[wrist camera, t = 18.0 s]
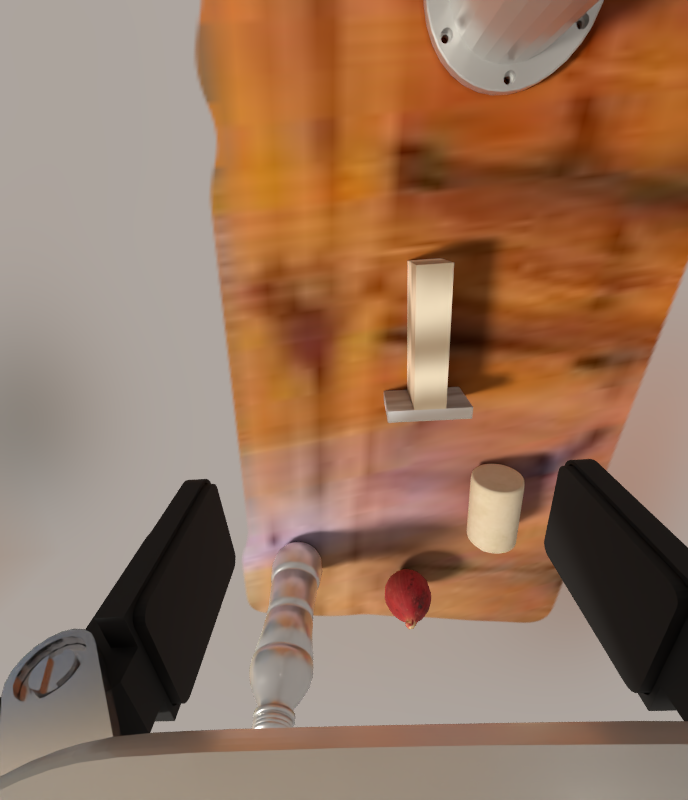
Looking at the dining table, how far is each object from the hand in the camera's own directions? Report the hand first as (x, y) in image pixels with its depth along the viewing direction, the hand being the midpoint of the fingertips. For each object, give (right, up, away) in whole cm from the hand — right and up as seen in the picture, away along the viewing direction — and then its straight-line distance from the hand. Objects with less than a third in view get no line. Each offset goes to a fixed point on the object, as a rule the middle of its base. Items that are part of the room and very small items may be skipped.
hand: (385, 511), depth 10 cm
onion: (+7, -20, +41) cm, 46 cm away
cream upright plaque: (+7, +9, +27) cm, 29 cm away
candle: (+16, -5, +30) cm, 35 cm away
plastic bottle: (-7, -18, +40) cm, 44 cm away
